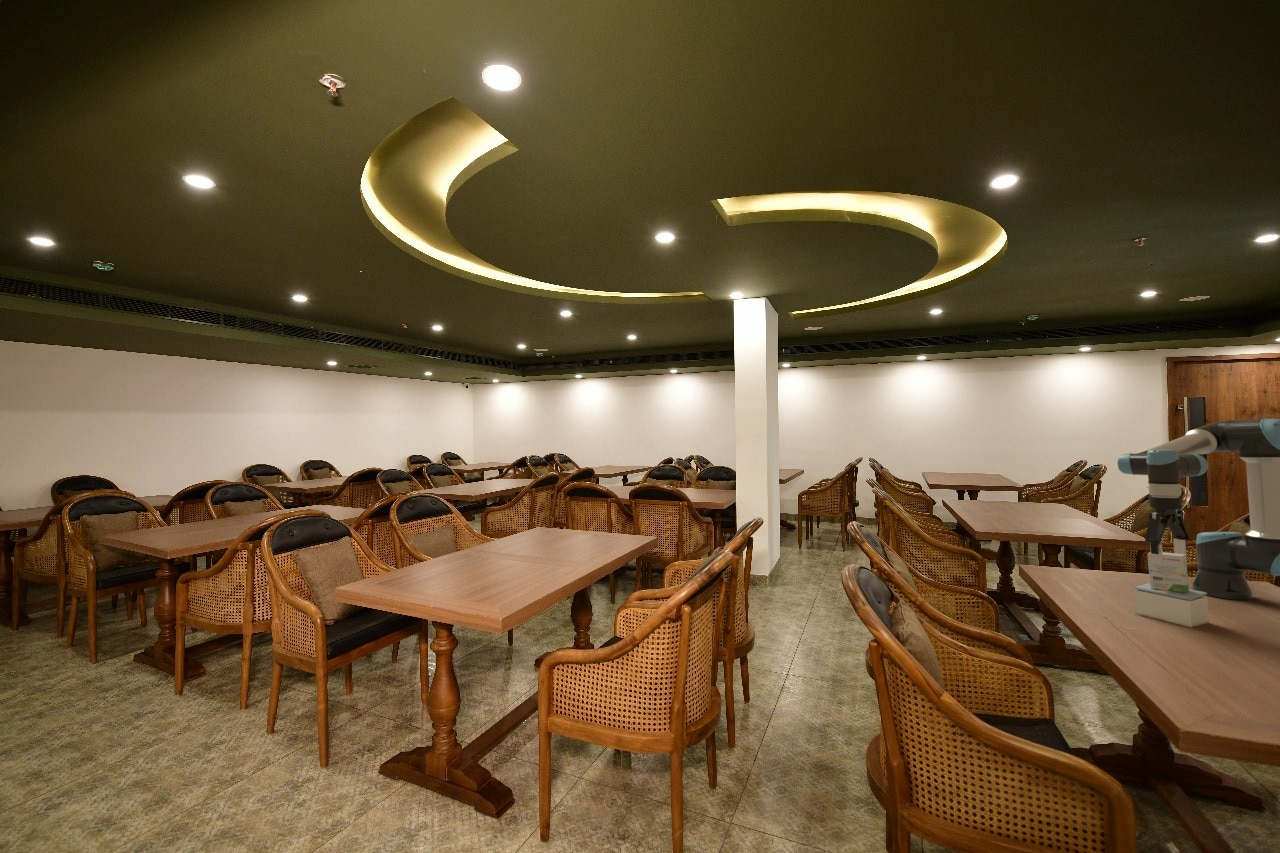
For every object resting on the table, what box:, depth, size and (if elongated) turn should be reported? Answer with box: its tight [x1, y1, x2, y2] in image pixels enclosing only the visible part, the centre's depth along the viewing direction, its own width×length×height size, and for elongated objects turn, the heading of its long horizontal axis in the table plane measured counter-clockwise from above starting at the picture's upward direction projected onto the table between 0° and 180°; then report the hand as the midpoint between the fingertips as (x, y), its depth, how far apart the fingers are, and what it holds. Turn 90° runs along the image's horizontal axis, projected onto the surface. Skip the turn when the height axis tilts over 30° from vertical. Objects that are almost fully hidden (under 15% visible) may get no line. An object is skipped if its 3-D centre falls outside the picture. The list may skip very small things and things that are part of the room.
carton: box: [1133, 589, 1210, 628], centre depth 172 cm, size 10×14×8 cm
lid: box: [1133, 582, 1208, 600], centre depth 172 cm, size 10×14×1 cm
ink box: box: [1147, 551, 1190, 593], centre depth 172 cm, size 8×5×12 cm, turn 36°
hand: (1169, 561), depth 172 cm, fingers open, 13 cm apart
